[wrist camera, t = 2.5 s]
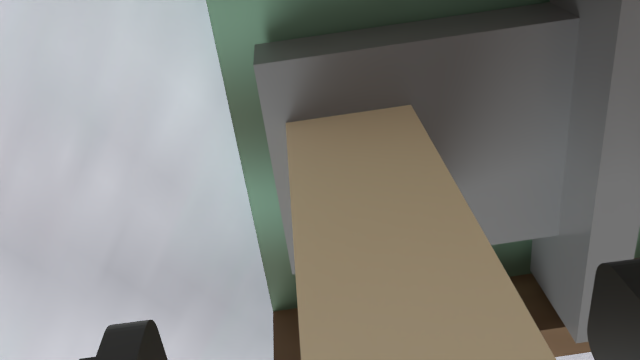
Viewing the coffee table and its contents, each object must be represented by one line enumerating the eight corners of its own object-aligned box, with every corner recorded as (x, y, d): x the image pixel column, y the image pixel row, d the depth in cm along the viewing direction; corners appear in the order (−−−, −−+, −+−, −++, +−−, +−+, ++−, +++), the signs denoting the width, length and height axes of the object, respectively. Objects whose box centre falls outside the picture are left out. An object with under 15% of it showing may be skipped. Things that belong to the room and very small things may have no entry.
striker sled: (235, -64, 13) (176, 81, 5) (610, -117, 13) (1197, -65, 5) (301, 303, 19) (329, 671, 10) (567, 264, 19) (809, 598, 10)
